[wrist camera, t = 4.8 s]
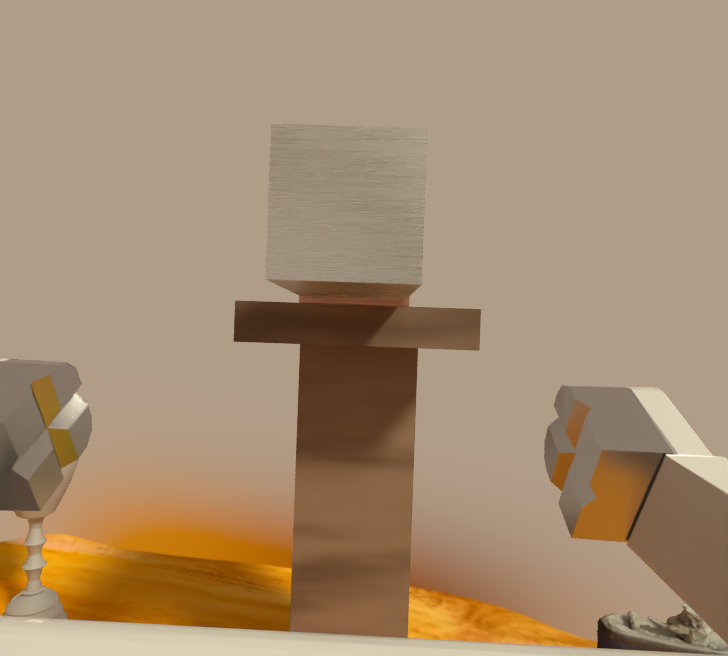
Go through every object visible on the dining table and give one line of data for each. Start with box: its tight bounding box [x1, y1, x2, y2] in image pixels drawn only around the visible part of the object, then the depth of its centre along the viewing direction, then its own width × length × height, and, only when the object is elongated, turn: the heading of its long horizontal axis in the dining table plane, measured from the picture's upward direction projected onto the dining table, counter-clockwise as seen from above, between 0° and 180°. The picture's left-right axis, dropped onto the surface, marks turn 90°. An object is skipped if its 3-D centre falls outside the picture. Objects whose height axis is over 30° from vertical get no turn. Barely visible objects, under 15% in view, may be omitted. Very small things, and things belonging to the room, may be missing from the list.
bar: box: [266, 124, 427, 308], centre depth 29 cm, size 32×4×4 cm, turn 179°
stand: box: [234, 301, 481, 638], centre depth 32 cm, size 14×12×26 cm
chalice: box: [2, 398, 88, 619], centre depth 42 cm, size 7×7×18 cm
